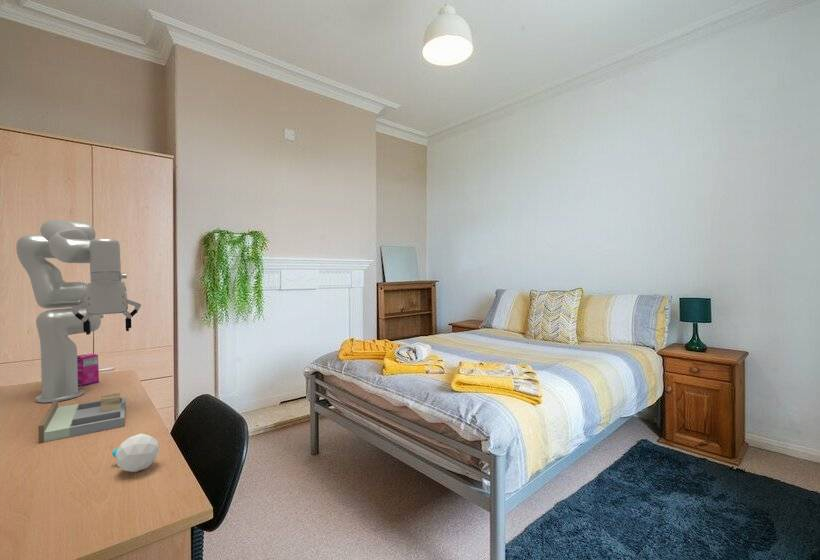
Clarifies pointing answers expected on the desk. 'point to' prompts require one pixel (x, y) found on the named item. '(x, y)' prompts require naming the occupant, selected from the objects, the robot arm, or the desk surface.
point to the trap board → (79, 420)
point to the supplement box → (87, 369)
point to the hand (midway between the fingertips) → (108, 332)
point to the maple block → (110, 402)
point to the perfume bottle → (136, 453)
